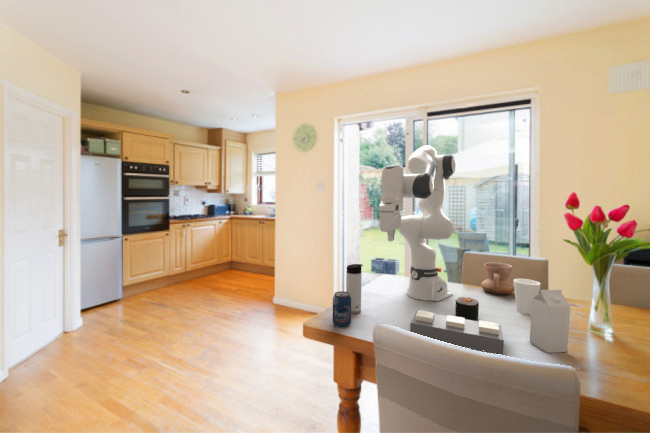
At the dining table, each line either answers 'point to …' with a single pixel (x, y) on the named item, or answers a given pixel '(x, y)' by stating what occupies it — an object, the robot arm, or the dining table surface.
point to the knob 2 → (488, 327)
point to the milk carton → (550, 321)
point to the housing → (460, 334)
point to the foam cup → (525, 294)
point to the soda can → (341, 309)
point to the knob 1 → (425, 316)
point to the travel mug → (354, 286)
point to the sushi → (467, 308)
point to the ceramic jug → (498, 278)
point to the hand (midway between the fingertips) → (391, 240)
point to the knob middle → (455, 321)
